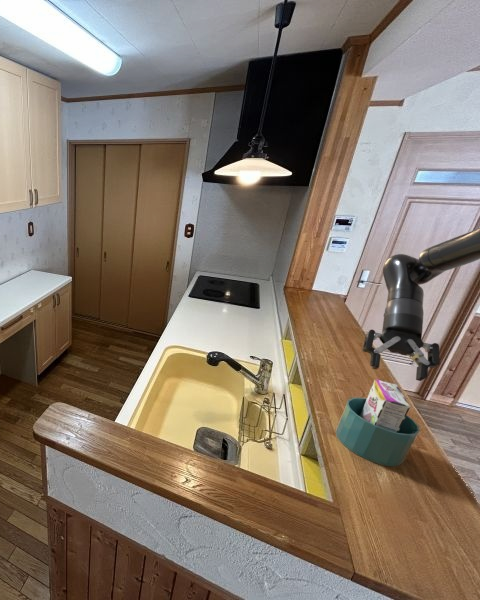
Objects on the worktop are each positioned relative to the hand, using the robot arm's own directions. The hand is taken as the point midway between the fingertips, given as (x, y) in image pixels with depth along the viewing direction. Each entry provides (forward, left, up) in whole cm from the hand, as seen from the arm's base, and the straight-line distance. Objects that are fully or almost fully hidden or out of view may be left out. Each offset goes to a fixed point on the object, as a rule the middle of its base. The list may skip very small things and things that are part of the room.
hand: (397, 373), depth 82 cm
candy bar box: (0, +1, -21) cm, 21 cm away
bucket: (0, +2, -22) cm, 22 cm away
